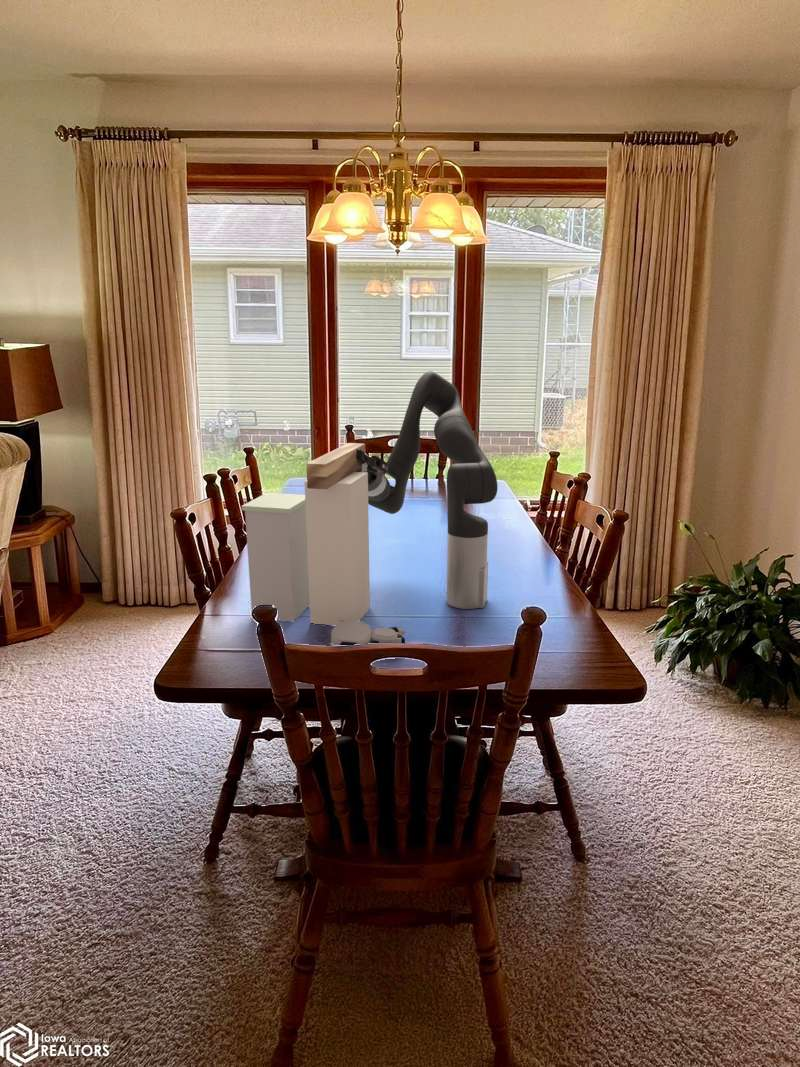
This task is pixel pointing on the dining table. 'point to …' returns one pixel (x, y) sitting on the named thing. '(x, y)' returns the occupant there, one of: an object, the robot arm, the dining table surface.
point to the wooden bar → (333, 466)
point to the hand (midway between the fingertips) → (348, 452)
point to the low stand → (278, 553)
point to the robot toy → (364, 634)
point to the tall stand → (338, 550)
